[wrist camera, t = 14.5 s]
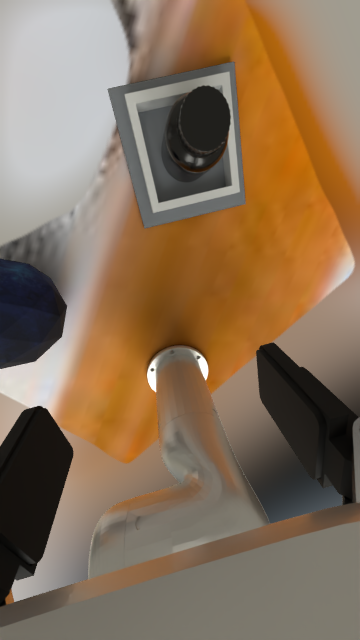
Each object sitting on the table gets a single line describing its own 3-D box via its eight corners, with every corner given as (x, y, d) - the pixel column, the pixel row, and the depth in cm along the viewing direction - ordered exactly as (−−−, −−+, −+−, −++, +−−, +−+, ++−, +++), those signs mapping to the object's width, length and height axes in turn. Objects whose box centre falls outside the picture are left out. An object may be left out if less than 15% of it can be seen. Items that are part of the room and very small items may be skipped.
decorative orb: (-101, 272, 28) (-131, 384, 21) (-4, 210, 27) (-1, 306, 20) (8, 317, 40) (12, 395, 34) (78, 276, 39) (97, 348, 32)
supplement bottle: (168, 113, 29) (182, 48, 18) (216, 136, 30) (255, 88, 20) (154, 173, 31) (159, 147, 20) (199, 191, 33) (226, 176, 22)
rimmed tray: (242, 204, 35) (252, 202, 32) (144, 228, 35) (144, 229, 32) (231, 66, 29) (242, 47, 25) (108, 93, 28) (104, 76, 25)
